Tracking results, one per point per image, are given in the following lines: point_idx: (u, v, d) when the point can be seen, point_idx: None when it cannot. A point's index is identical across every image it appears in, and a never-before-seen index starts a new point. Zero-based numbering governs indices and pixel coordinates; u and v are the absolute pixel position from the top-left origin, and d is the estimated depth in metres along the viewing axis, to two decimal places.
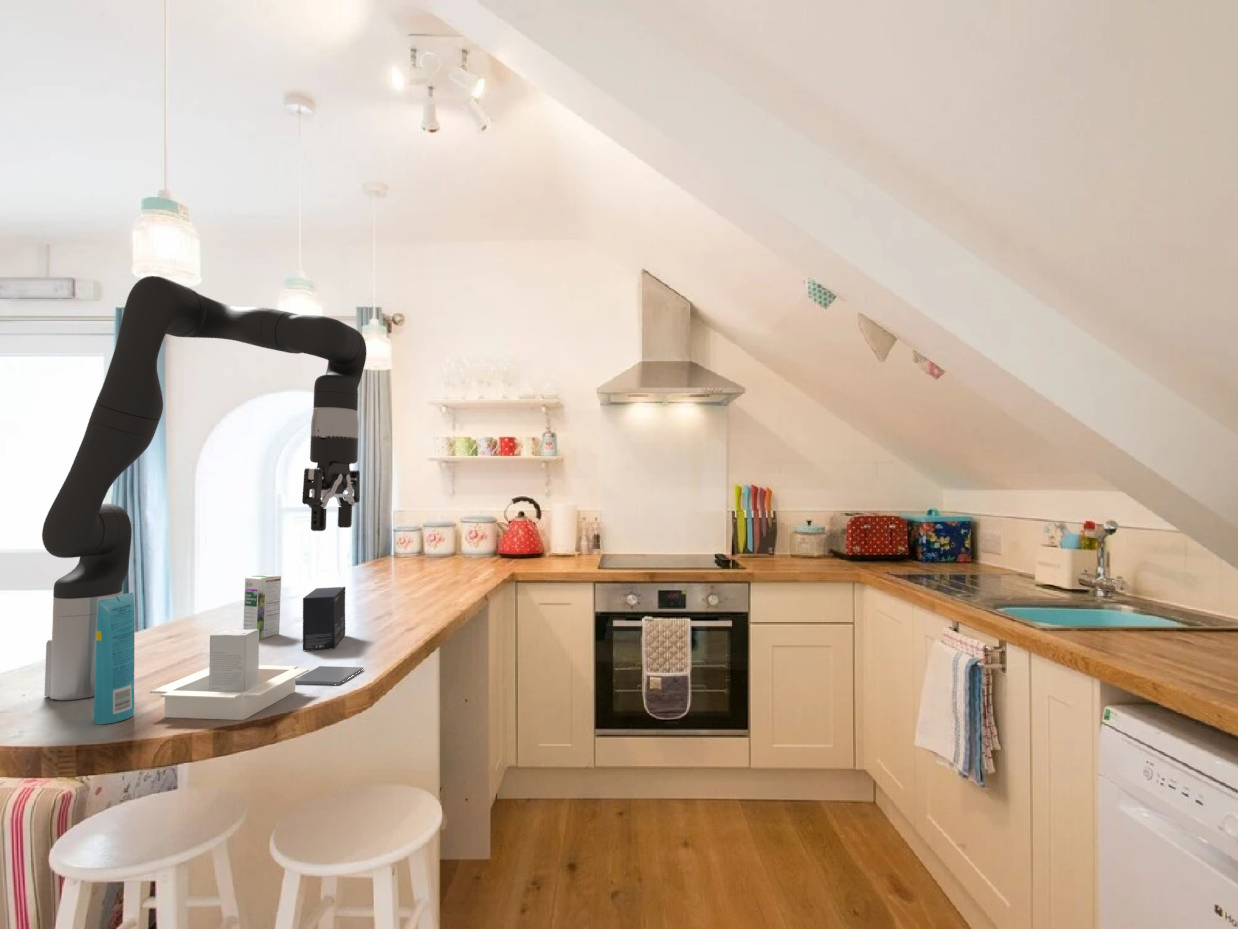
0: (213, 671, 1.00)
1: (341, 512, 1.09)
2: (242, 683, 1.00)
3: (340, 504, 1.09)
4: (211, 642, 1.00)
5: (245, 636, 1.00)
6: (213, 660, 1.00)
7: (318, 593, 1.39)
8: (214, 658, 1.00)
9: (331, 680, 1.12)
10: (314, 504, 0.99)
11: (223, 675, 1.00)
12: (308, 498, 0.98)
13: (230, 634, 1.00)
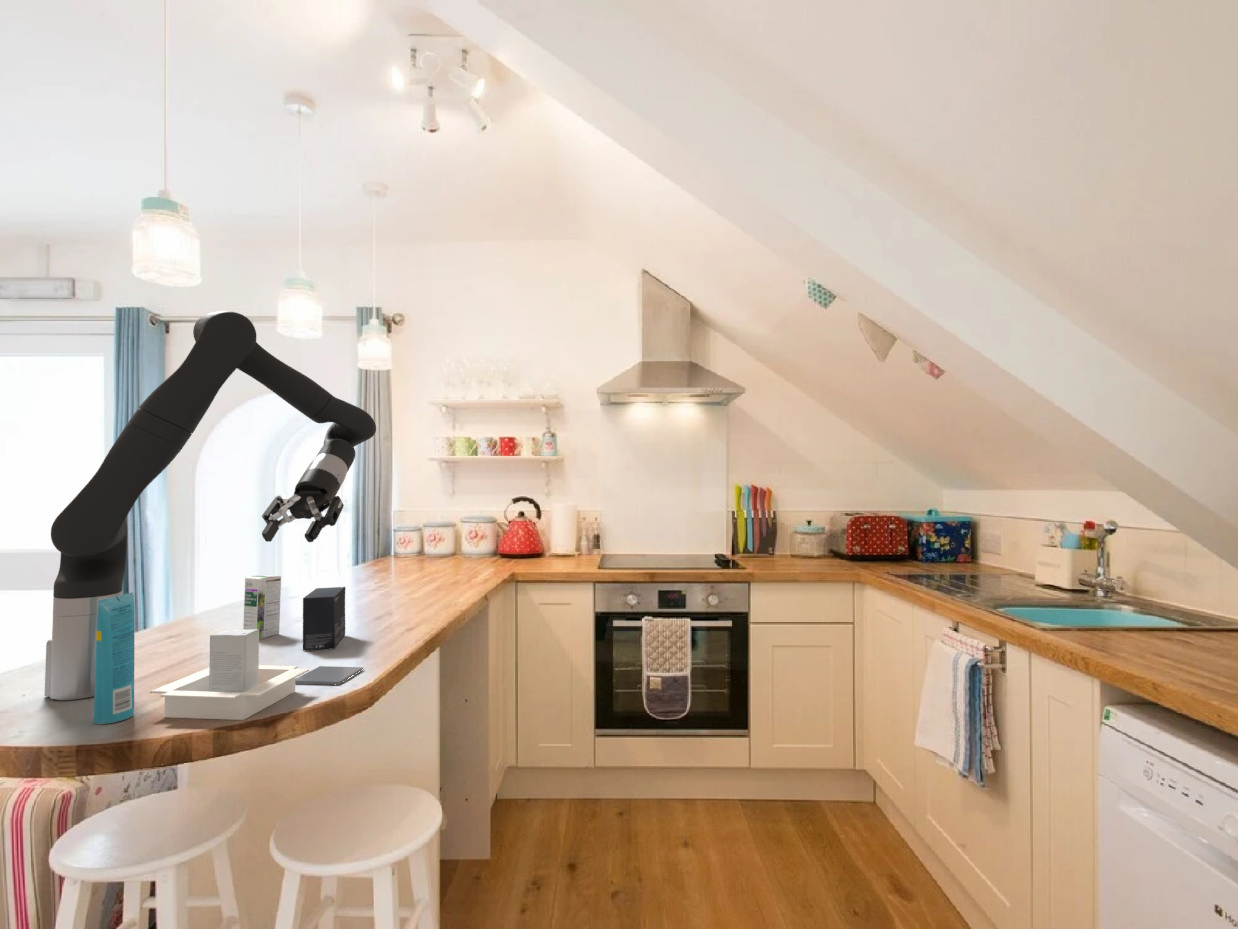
0: (213, 671, 1.00)
1: (273, 526, 1.18)
2: (242, 683, 1.00)
3: (274, 519, 1.19)
4: (211, 642, 1.00)
5: (245, 636, 1.00)
6: (213, 660, 1.00)
7: (318, 593, 1.39)
8: (214, 658, 1.00)
9: (331, 680, 1.12)
10: (328, 523, 1.19)
11: (223, 675, 1.00)
12: (332, 517, 1.19)
13: (230, 634, 1.00)
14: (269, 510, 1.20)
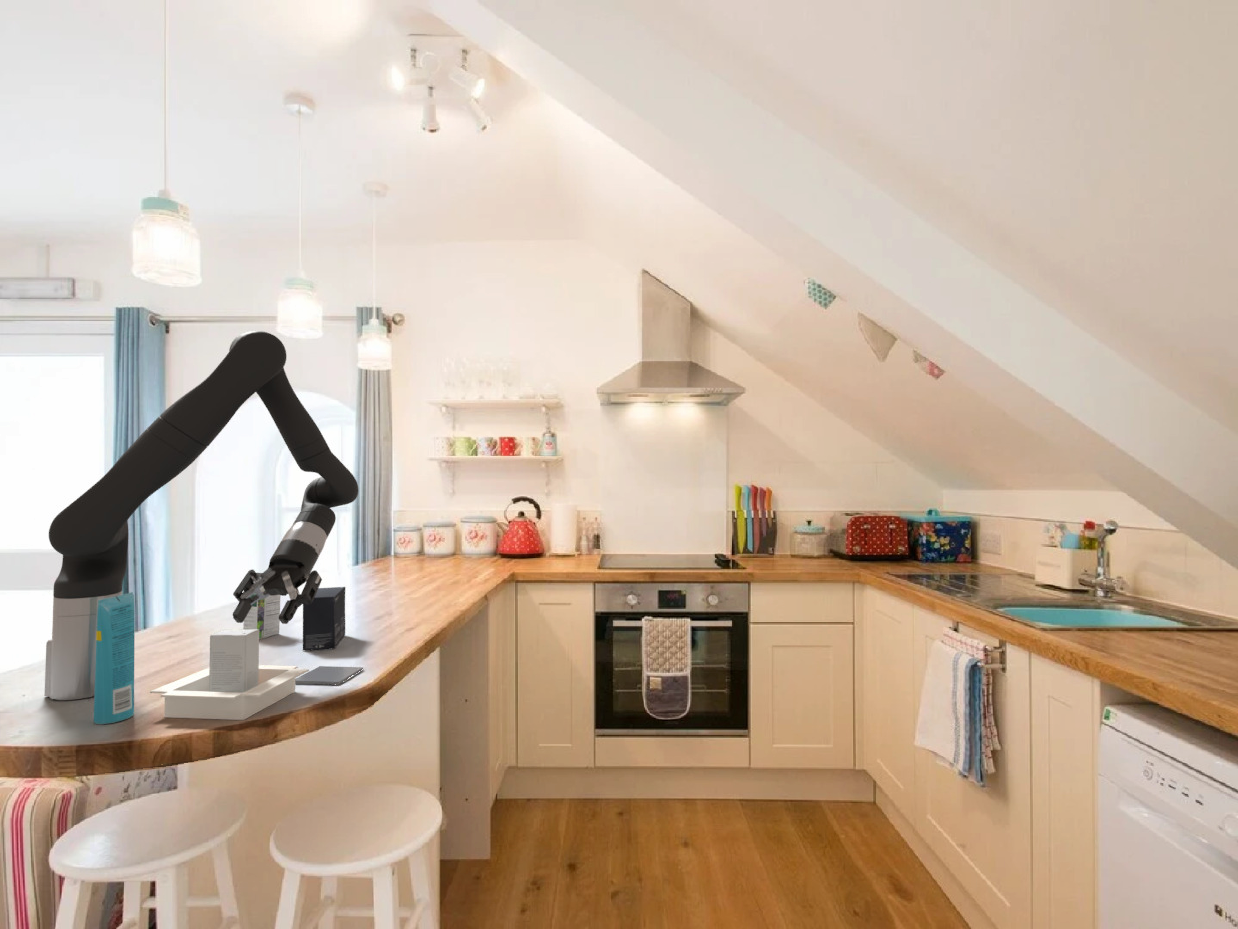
0: (213, 671, 1.00)
1: (245, 606, 1.10)
2: (242, 683, 1.00)
3: (247, 598, 1.11)
4: (211, 642, 1.00)
5: (245, 636, 1.00)
6: (213, 660, 1.00)
7: (318, 593, 1.39)
8: (214, 658, 1.00)
9: (331, 680, 1.12)
10: (305, 602, 1.11)
11: (223, 675, 1.00)
12: (309, 595, 1.11)
13: (230, 634, 1.00)
14: (241, 587, 1.12)
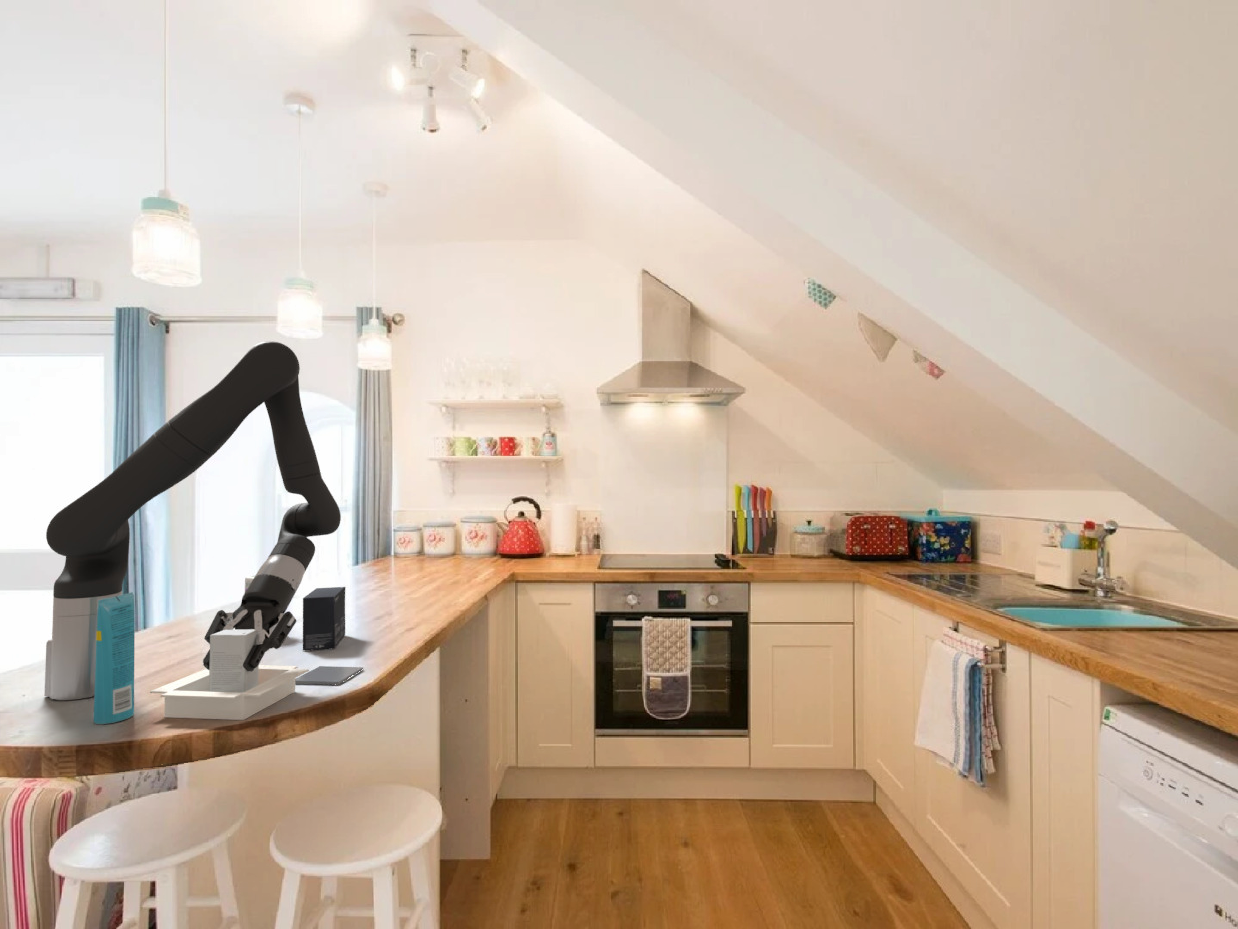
0: (213, 670, 1.00)
1: None
2: (242, 683, 1.00)
3: None
4: (211, 642, 1.00)
5: (245, 636, 1.00)
6: (213, 660, 1.00)
7: (318, 593, 1.39)
8: (214, 658, 1.00)
9: (331, 680, 1.12)
10: (273, 647, 1.03)
11: (223, 675, 1.00)
12: (277, 639, 1.03)
13: (230, 634, 1.00)
14: (212, 630, 1.04)
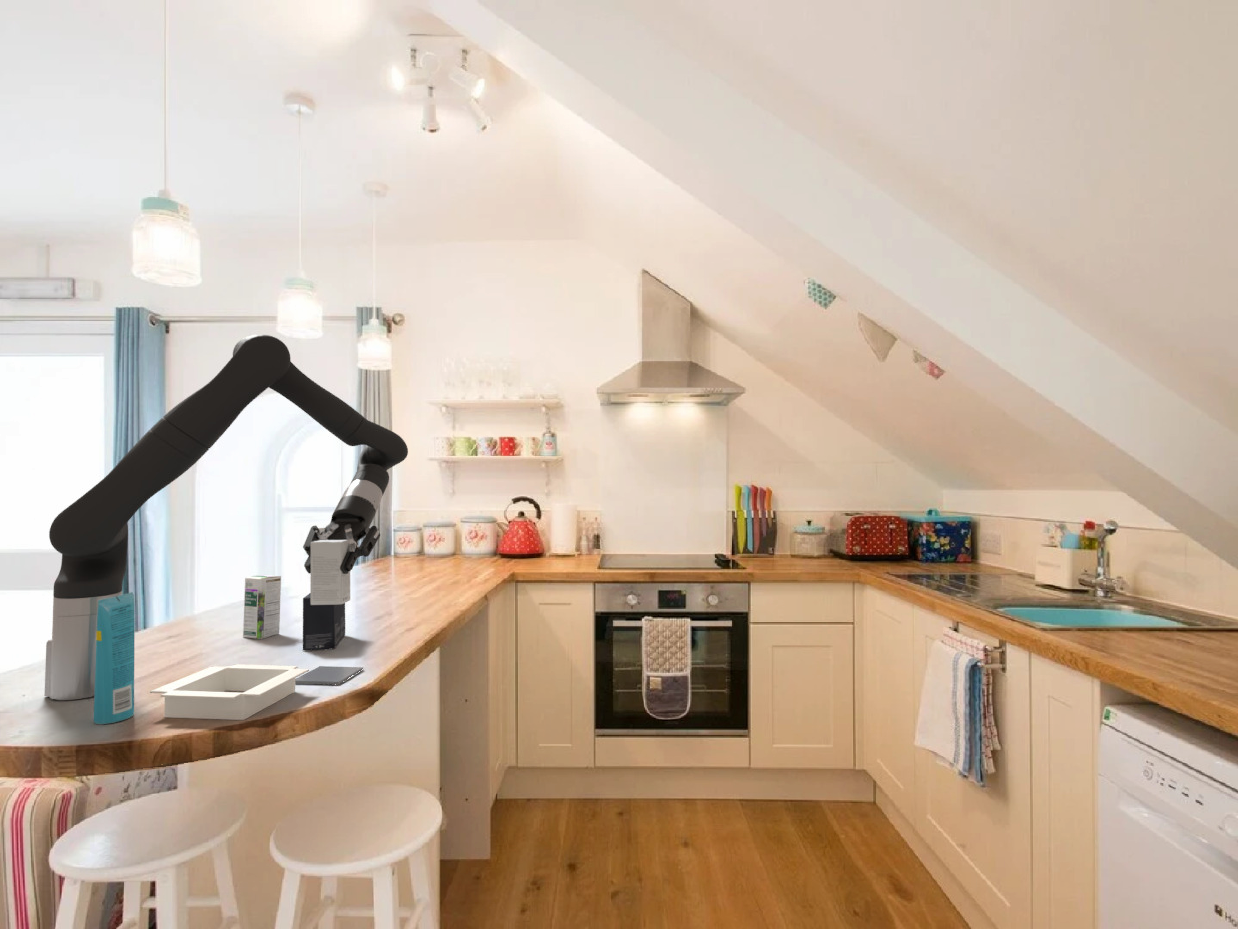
0: (314, 573, 1.14)
1: None
2: (339, 584, 1.14)
3: None
4: (311, 548, 1.15)
5: (341, 543, 1.15)
6: (313, 563, 1.14)
7: None
8: (314, 562, 1.14)
9: (331, 680, 1.12)
10: (363, 554, 1.18)
11: (323, 577, 1.14)
12: (366, 548, 1.18)
13: (327, 541, 1.15)
14: (309, 541, 1.19)
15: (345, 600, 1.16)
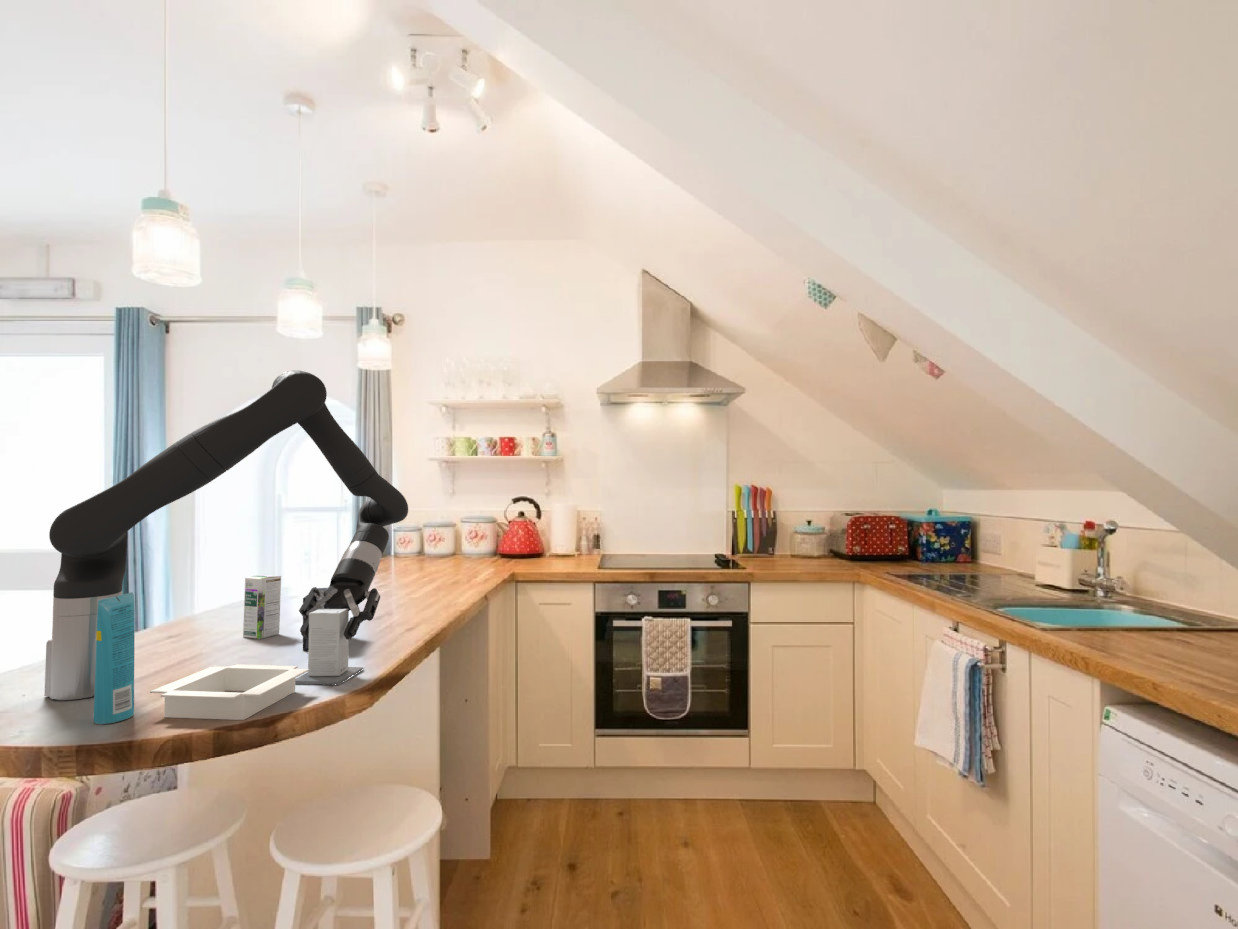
0: (312, 644, 1.14)
1: None
2: (337, 655, 1.14)
3: None
4: (310, 619, 1.14)
5: (339, 614, 1.15)
6: (312, 635, 1.14)
7: None
8: (312, 633, 1.14)
9: (331, 680, 1.12)
10: (366, 619, 1.18)
11: (320, 648, 1.14)
12: (370, 612, 1.18)
13: (326, 612, 1.15)
14: (306, 604, 1.19)
15: (343, 671, 1.16)
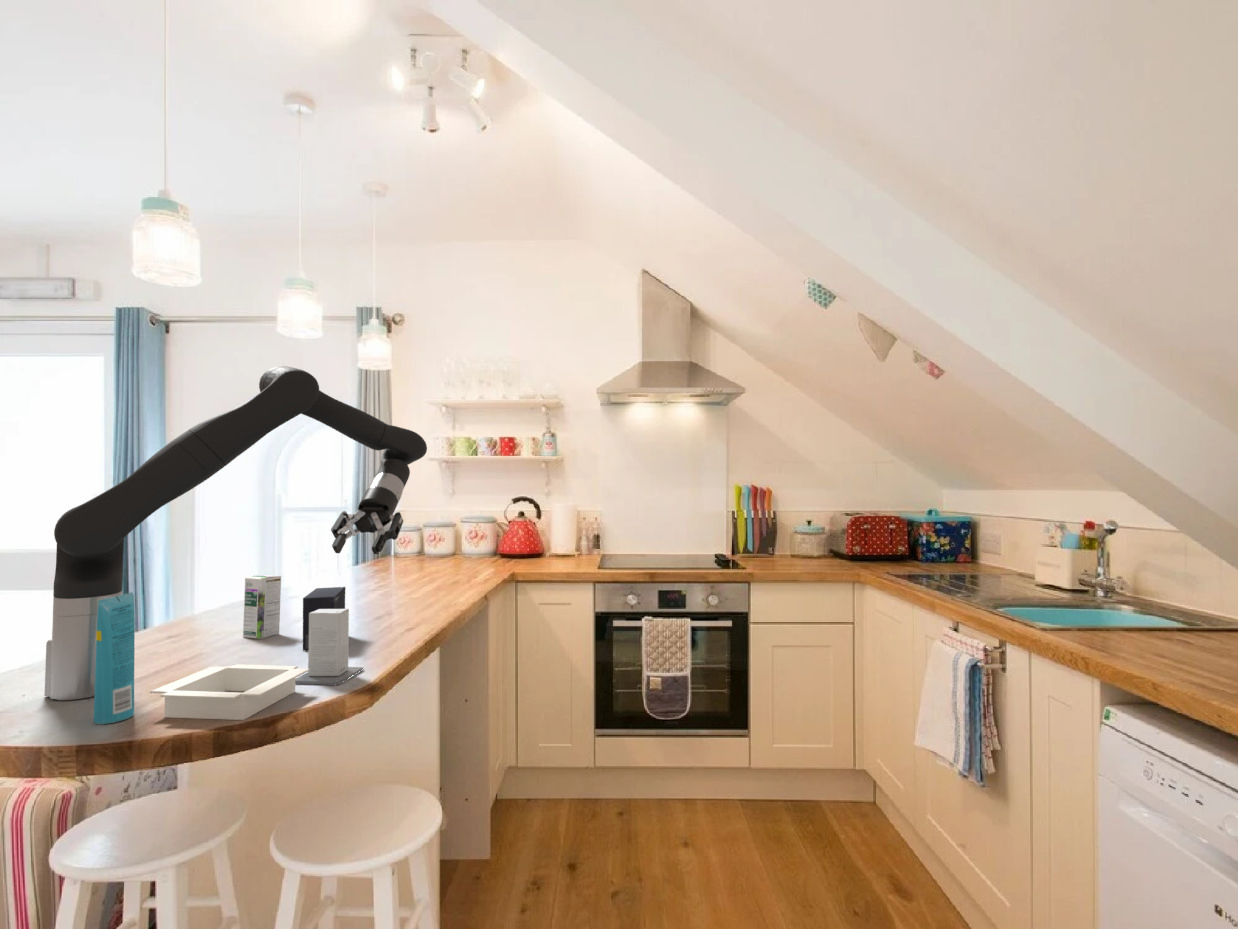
0: (312, 644, 1.14)
1: (341, 539, 1.30)
2: (337, 655, 1.14)
3: (342, 533, 1.31)
4: (310, 619, 1.14)
5: (339, 614, 1.15)
6: (312, 635, 1.14)
7: (318, 593, 1.39)
8: (312, 633, 1.14)
9: (331, 680, 1.12)
10: (391, 537, 1.31)
11: (321, 648, 1.14)
12: (395, 531, 1.31)
13: (326, 612, 1.15)
14: (337, 524, 1.32)
15: (343, 671, 1.16)
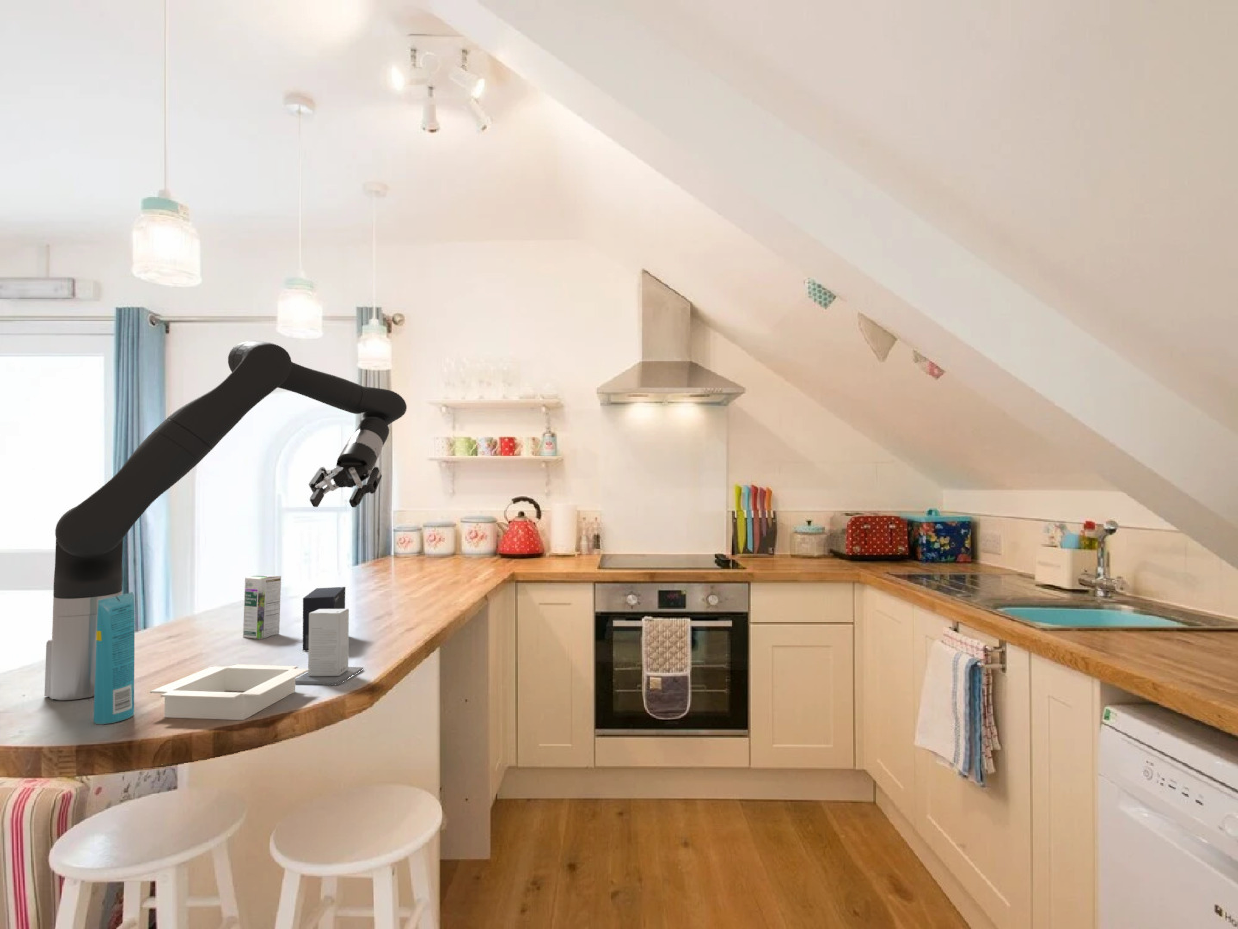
0: (312, 644, 1.14)
1: (319, 493, 1.30)
2: (337, 655, 1.14)
3: (320, 487, 1.31)
4: (310, 619, 1.14)
5: (339, 614, 1.15)
6: (312, 635, 1.14)
7: (318, 593, 1.39)
8: (312, 633, 1.14)
9: (331, 680, 1.12)
10: (369, 491, 1.31)
11: (321, 648, 1.14)
12: (372, 485, 1.31)
13: (326, 612, 1.15)
14: (315, 479, 1.32)
15: (343, 671, 1.16)
